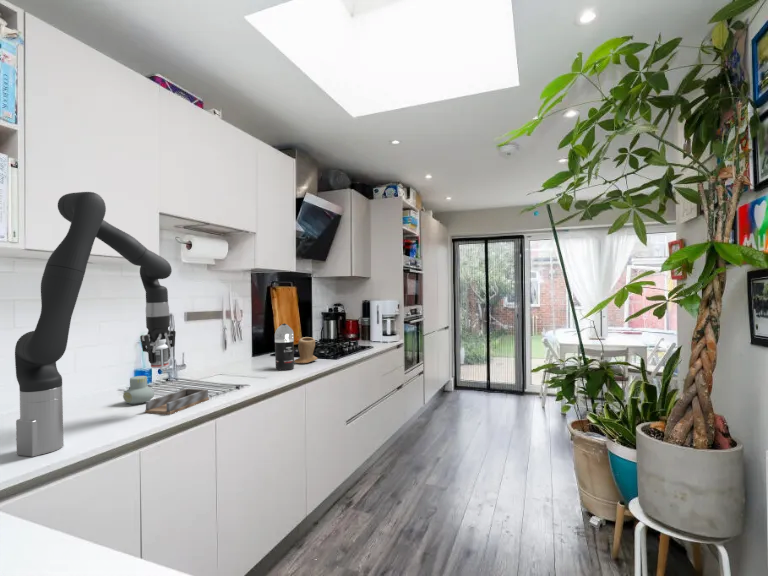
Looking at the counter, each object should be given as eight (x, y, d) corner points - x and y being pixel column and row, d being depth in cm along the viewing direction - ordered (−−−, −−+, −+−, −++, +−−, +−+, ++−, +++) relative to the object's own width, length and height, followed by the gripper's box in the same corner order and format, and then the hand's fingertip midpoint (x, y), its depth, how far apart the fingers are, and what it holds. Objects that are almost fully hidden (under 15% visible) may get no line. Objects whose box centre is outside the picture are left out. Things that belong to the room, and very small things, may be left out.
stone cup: (308, 365, 236) (307, 339, 236) (291, 364, 242) (290, 338, 242) (322, 360, 250) (322, 336, 250) (306, 359, 255) (306, 335, 255)
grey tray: (170, 414, 146) (170, 403, 146) (145, 412, 149) (145, 401, 149) (208, 399, 166) (208, 389, 166) (186, 398, 169) (185, 388, 169)
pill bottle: (164, 364, 154) (163, 338, 154) (171, 366, 151) (170, 339, 150) (148, 367, 150) (147, 340, 150) (154, 369, 146) (153, 341, 146)
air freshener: (156, 401, 164) (156, 376, 164) (135, 407, 157) (134, 380, 157) (142, 398, 170) (142, 373, 170) (121, 403, 163) (120, 377, 163)
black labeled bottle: (271, 369, 227) (270, 323, 227) (288, 366, 234) (287, 322, 234) (281, 371, 219) (280, 324, 219) (298, 368, 226) (297, 323, 226)
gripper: (149, 316, 142) (151, 365, 142) (181, 313, 156) (183, 357, 156) (132, 316, 144) (134, 365, 144) (165, 313, 158) (166, 357, 158)
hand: (159, 361), depth 150 cm, fingers closed on pill bottle, 5 cm apart
